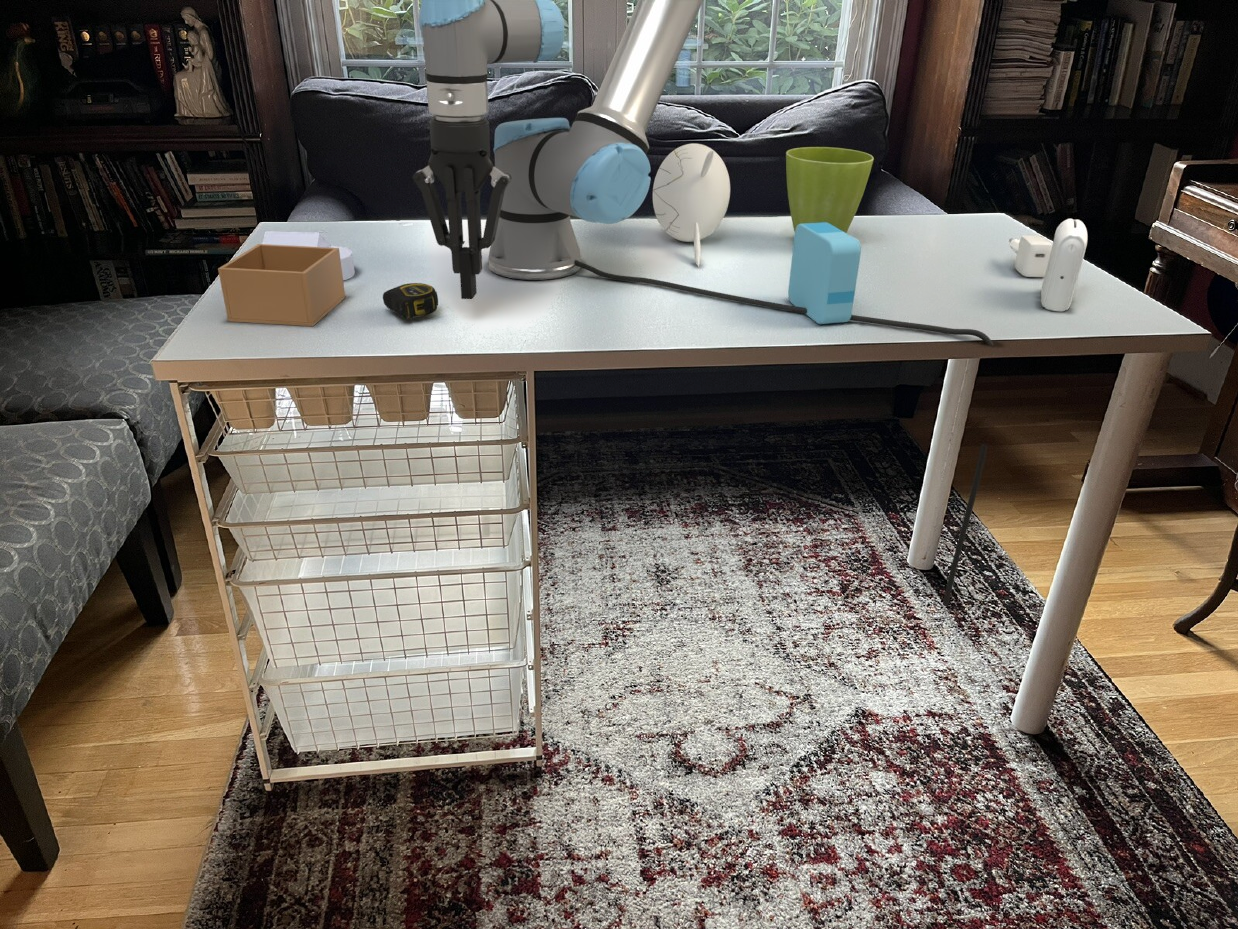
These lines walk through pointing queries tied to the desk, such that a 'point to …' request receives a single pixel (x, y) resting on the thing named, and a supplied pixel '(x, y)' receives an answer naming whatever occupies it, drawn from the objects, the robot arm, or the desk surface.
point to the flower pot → (826, 184)
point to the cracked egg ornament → (691, 194)
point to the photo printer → (1064, 265)
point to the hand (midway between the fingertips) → (469, 295)
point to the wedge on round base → (311, 241)
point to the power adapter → (1031, 255)
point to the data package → (824, 272)
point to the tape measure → (411, 300)
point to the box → (282, 284)
